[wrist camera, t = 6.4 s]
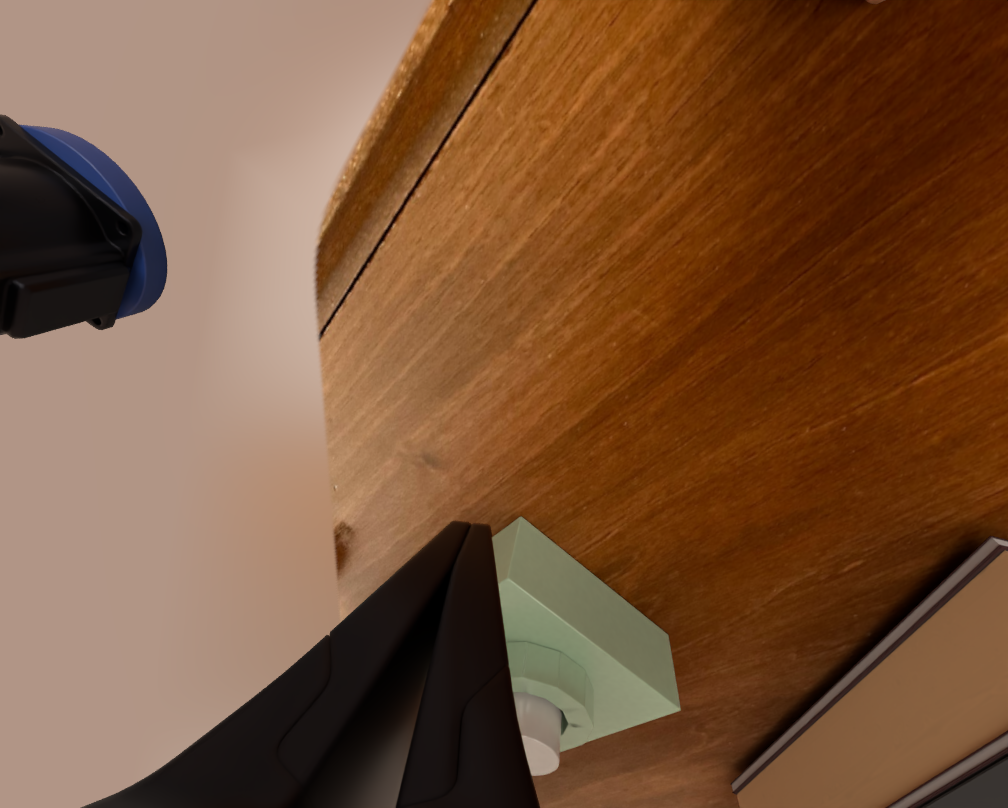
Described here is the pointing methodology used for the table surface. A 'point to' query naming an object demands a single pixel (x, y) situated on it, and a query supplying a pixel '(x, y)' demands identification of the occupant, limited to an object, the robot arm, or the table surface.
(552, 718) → the beige button cap
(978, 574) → the book
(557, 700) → the button base
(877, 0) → the decorative item
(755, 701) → the table surface
